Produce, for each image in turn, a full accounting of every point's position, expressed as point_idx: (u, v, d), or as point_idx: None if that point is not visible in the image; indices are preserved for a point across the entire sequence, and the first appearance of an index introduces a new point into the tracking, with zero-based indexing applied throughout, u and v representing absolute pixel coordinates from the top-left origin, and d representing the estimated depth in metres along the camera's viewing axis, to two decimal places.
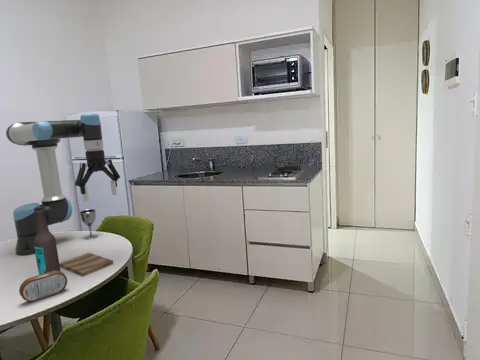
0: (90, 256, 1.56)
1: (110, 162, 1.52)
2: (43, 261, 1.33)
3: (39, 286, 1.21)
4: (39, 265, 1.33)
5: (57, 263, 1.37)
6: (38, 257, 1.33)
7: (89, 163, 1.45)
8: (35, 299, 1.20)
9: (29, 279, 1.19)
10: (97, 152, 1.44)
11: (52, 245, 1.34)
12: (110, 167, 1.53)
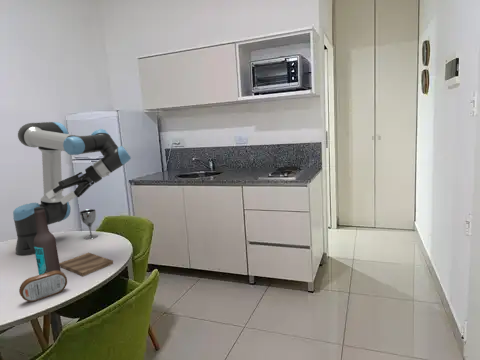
0: (90, 256, 1.56)
1: (91, 184, 1.56)
2: (43, 261, 1.33)
3: (39, 286, 1.21)
4: (39, 265, 1.33)
5: (57, 263, 1.37)
6: (38, 257, 1.33)
7: (85, 178, 1.47)
8: (35, 299, 1.20)
9: (29, 279, 1.19)
10: (99, 178, 1.50)
11: (52, 245, 1.34)
12: None
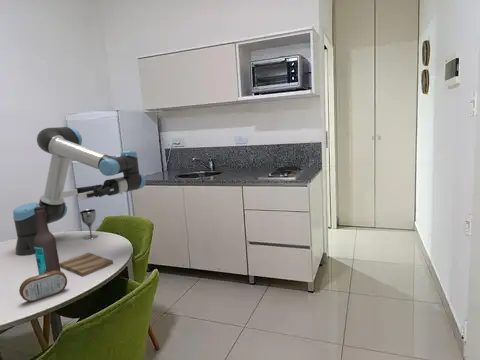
0: (90, 256, 1.56)
1: None
2: (43, 261, 1.33)
3: (39, 286, 1.21)
4: (39, 265, 1.33)
5: (57, 263, 1.37)
6: (38, 257, 1.33)
7: None
8: (35, 299, 1.20)
9: (29, 279, 1.19)
10: (115, 194, 1.58)
11: (52, 245, 1.34)
12: None
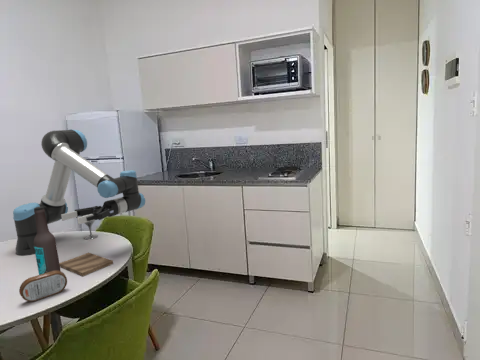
0: (90, 256, 1.56)
1: None
2: (43, 261, 1.33)
3: (39, 286, 1.21)
4: (39, 265, 1.33)
5: (57, 263, 1.37)
6: (38, 257, 1.33)
7: None
8: (35, 299, 1.20)
9: (29, 279, 1.19)
10: None
11: (52, 245, 1.34)
12: None
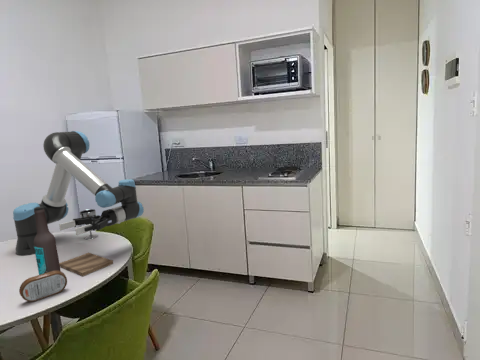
0: (90, 256, 1.56)
1: None
2: (43, 261, 1.33)
3: (39, 286, 1.21)
4: (39, 265, 1.33)
5: (57, 263, 1.37)
6: (38, 257, 1.33)
7: None
8: (35, 299, 1.20)
9: (29, 279, 1.19)
10: None
11: (52, 245, 1.34)
12: None
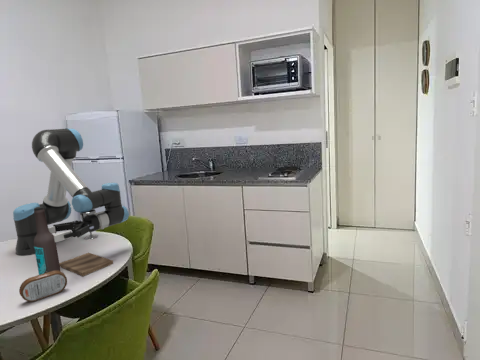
0: (90, 256, 1.56)
1: None
2: (43, 261, 1.33)
3: (39, 286, 1.21)
4: (39, 265, 1.33)
5: (57, 263, 1.37)
6: (38, 257, 1.33)
7: None
8: (35, 299, 1.20)
9: (29, 279, 1.19)
10: None
11: (52, 245, 1.34)
12: None
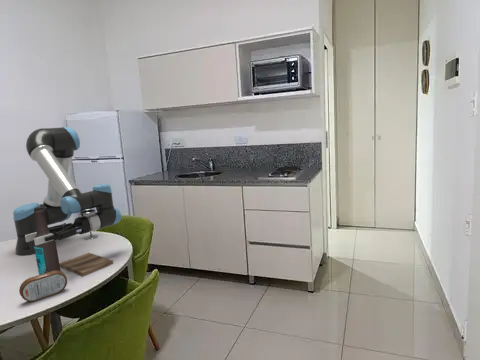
0: (90, 256, 1.56)
1: None
2: (43, 261, 1.33)
3: (39, 286, 1.21)
4: (39, 265, 1.33)
5: (57, 263, 1.37)
6: (38, 257, 1.33)
7: None
8: (35, 299, 1.20)
9: (29, 279, 1.19)
10: (86, 232, 1.48)
11: (52, 245, 1.34)
12: None
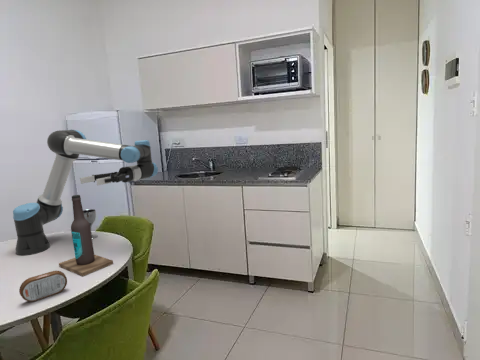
0: None
1: None
2: (80, 245, 1.44)
3: (39, 286, 1.21)
4: (76, 249, 1.45)
5: (92, 247, 1.48)
6: (75, 241, 1.44)
7: None
8: (35, 299, 1.20)
9: (29, 279, 1.19)
10: (129, 181, 1.67)
11: (88, 231, 1.46)
12: None
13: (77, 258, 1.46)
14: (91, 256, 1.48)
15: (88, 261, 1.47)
